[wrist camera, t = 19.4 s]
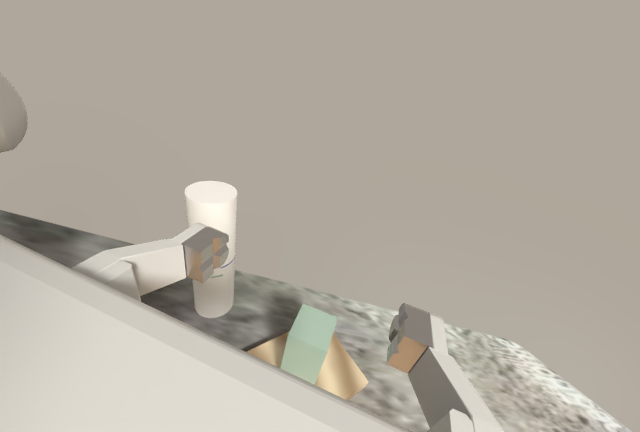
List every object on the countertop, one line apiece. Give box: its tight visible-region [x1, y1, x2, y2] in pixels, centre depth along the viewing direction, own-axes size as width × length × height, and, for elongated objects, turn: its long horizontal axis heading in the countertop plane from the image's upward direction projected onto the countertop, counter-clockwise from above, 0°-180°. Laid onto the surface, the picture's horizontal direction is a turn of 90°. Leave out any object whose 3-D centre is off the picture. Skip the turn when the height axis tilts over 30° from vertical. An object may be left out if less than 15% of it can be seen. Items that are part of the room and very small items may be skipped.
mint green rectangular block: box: [280, 304, 337, 385], centre depth 37 cm, size 6×6×12 cm
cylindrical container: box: [185, 181, 237, 318], centre depth 43 cm, size 7×7×25 cm
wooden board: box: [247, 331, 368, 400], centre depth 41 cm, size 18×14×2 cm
